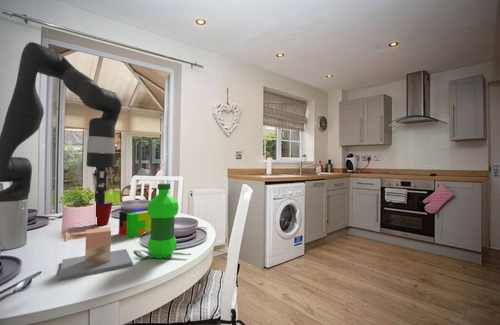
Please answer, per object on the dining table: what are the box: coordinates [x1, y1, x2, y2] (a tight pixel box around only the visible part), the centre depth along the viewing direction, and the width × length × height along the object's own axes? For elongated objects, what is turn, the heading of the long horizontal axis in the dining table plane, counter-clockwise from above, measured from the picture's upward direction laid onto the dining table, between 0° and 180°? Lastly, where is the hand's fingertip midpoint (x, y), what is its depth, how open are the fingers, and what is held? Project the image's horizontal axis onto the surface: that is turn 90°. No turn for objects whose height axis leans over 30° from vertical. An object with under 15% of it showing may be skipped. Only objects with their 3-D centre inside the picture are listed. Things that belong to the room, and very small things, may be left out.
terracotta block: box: [85, 226, 112, 250], centre depth 75 cm, size 6×5×5 cm
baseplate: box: [58, 248, 134, 282], centre depth 75 cm, size 18×14×1 cm
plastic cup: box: [94, 200, 114, 227], centre depth 122 cm, size 11×11×12 cm
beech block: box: [84, 246, 111, 266], centre depth 75 cm, size 6×5×5 cm
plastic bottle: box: [147, 183, 179, 259], centre depth 83 cm, size 10×10×25 cm
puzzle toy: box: [118, 208, 151, 239], centre depth 109 cm, size 10×10×10 cm
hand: (99, 203), depth 75 cm, fingers open, 8 cm apart
